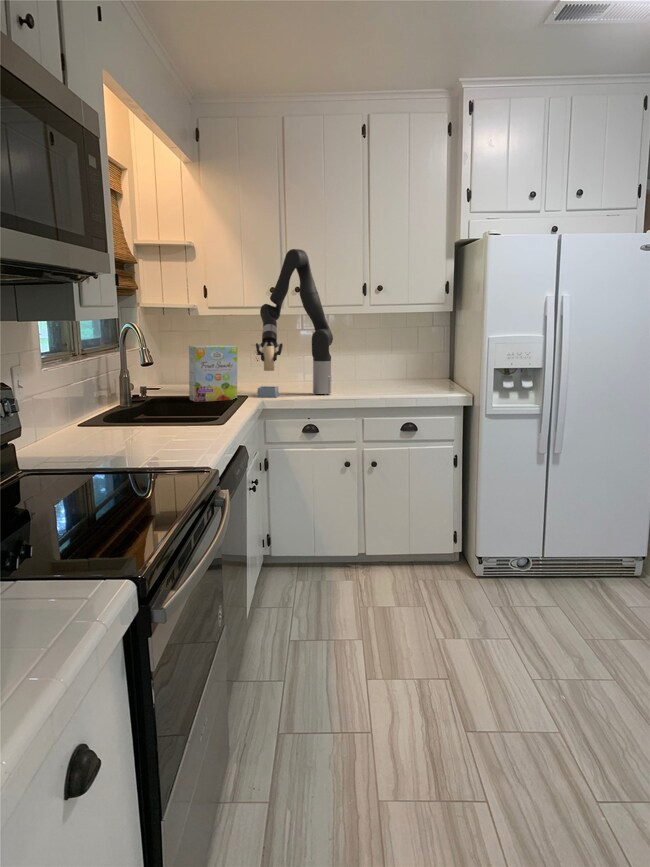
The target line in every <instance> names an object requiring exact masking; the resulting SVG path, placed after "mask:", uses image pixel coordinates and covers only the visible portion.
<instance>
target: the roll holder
mask: <svg viewBox="0 0 650 867" xmlns="http://www.w3.org/2000/svg"><path fill="white" fill-rule="evenodd" d="M279 395H281V394H280V393H279V386H273V385H272V386H270V385H269V386H267V385H266V386H265V385H262V386H259V387H257V394H256V398H270V399H271V398H274V399H277V398H278V397H279Z"/></svg>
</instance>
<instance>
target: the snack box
mask: <svg viewBox="0 0 650 867" xmlns="http://www.w3.org/2000/svg"><path fill="white" fill-rule="evenodd" d="M188 369H189V371H188V375H189V376H188V382H189V384H188V385H189V386H188V387H189V388H188V389H189V396H188V398H189V399H188V400H189V401H193V402H194V403H198V402H199V403H202V402H203V403H204V402H217V401H221V402H222V401H234V400H233V399H235V398H237V399H238V346H236V345H217V344H215V345H208V344H207V345H188Z"/></svg>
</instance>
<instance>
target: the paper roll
mask: <svg viewBox="0 0 650 867" xmlns="http://www.w3.org/2000/svg"><path fill="white" fill-rule="evenodd" d="M263 347H264V361H263V371H265V372H272V371H275V361H274V346H263Z"/></svg>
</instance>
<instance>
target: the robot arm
mask: <svg viewBox="0 0 650 867" xmlns="http://www.w3.org/2000/svg"><path fill="white" fill-rule="evenodd" d="M283 260H284V261H283V264H282V268H281V270H280V273H279V275H278V276H279V277H278V279H277V282H276V284H275V286H274V287H273V290H272V292H271V295H270V297H269V300H270V301H271V302H272V303H273V304H275V306H274V305H271V304H268V303H265V304H262V306H261V307H260V310H259V312H260V313H259V314H260V318H261V321H262V331H261V332H262V333H261V334H262V335H261V343H255V349H256V353H257V356H260V360H261V362H264V347H263V346H274V362H276V361H277V359H278V356H281V354H282V351H283V348H284V347H283V346H284V345H283V343H280V344H279V343H278V342H277V341H278V330H277V329H278V328H277V327H278V326H277V324H278V323H277V321H278V320H279V319H280V317H281V312H282V311H281V310H282V306H283V303H284V301H285V298H286V297H287V294H288V291H289V288H290V282H291V281H290V280H291V277H292V275H293V273H294V271H295V270H296V272H297V274H298V279H299V296H300V301H301V303H302V306H303V309H304V311H305V312H306V314H307V317H308V318H309V319H310V321H311V322H312V325H313V327H314V328H313V329H314V332H313V333H312V336H311V355H312V358H313V359H312V360H313V361H312V394H313V393H314V394H313V395H315V394H330V393H331V394H332V356H331V354H330V346H331V345H332V343H333V340H334V336H333V335H334V334H333V333H332V331H331V329H330V326H329V324H328V322H327V318H326V315H325V312H324V308H323V305H322V302H321V298H320V295H319V292H318V289H317V287H316V283H315V280H314V277H313V273H312V269H311V265H310V260H309V257H308V254H307V252H306V251H305V250H303V249H299V248H297V249H296V248H293V249H289V250H288V251H287V253H286V255H285V257H284V259H283ZM261 348H262V349H261ZM260 349H261V350H260ZM331 394H330V395H331Z"/></svg>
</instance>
